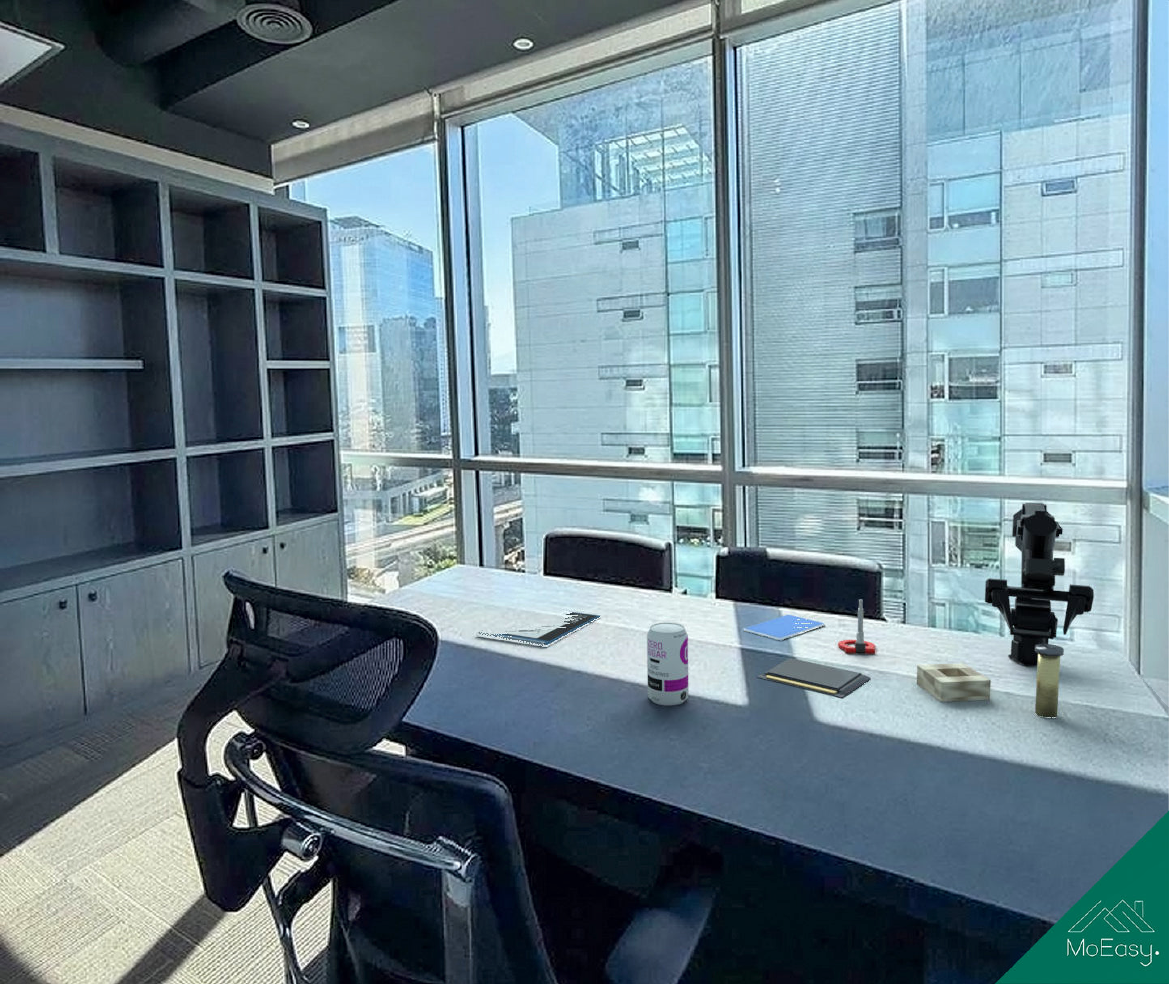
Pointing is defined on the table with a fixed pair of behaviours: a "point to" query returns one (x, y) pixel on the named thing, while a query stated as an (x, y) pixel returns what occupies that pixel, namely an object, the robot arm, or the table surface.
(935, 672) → the socket block
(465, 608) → the table surface
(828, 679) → the dark gray book
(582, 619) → the sketchbook
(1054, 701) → the brass pin
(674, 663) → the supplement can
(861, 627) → the tow hook
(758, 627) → the tablet computer
